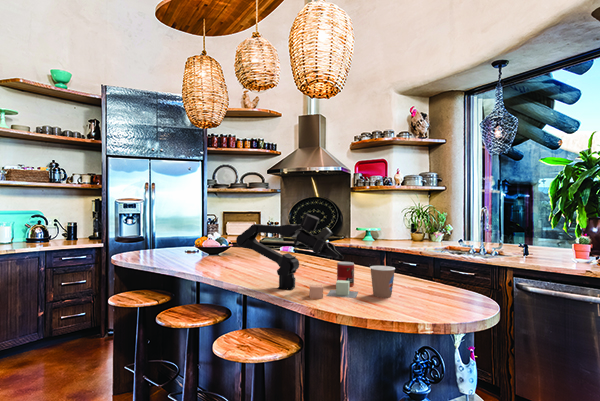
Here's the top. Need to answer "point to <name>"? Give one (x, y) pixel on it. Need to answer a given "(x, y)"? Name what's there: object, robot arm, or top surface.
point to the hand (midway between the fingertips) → (340, 257)
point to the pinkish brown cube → (316, 291)
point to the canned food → (345, 272)
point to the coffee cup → (382, 280)
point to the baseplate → (351, 295)
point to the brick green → (342, 287)
